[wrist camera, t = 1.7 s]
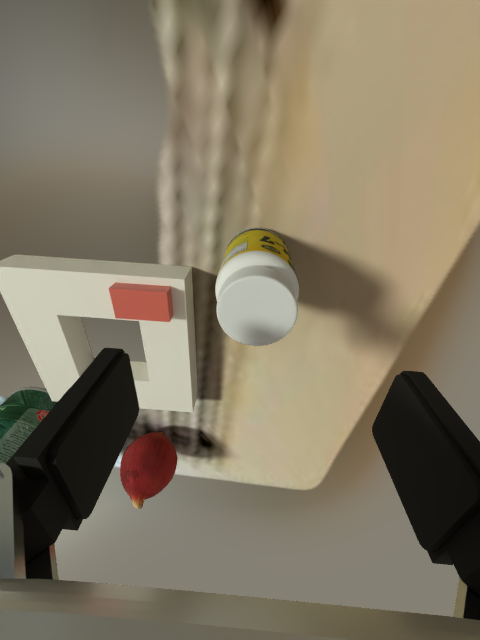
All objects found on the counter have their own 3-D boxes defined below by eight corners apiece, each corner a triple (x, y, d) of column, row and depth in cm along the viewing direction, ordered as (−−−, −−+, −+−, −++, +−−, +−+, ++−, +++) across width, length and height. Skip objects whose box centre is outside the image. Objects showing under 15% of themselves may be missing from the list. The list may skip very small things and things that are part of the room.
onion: (135, 442, 33) (104, 515, 27) (136, 413, 30) (102, 487, 24) (181, 450, 34) (161, 524, 27) (186, 423, 31) (167, 498, 24)
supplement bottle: (301, 262, 20) (326, 321, 13) (253, 298, 22) (251, 367, 15) (261, 210, 18) (263, 246, 11) (212, 254, 20) (188, 309, 13)
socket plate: (15, 254, 21) (-25, 271, 18) (191, 266, 21) (180, 285, 18) (67, 382, 28) (45, 409, 25) (197, 392, 28) (190, 420, 25)
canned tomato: (6, 378, 28) (-116, 486, 19) (81, 397, 29) (0, 510, 20) (14, 422, 33) (-83, 529, 23) (80, 438, 34) (12, 546, 24)
